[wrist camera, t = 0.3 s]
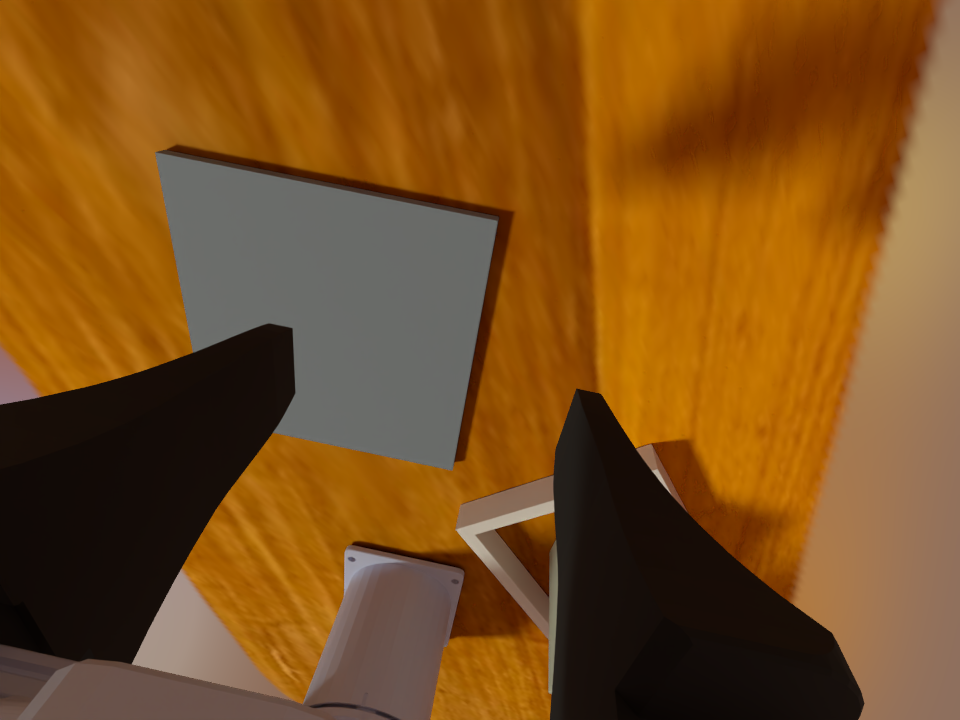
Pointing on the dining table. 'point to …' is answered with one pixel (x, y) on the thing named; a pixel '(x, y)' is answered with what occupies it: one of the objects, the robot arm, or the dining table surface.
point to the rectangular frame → (517, 507)
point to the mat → (338, 297)
